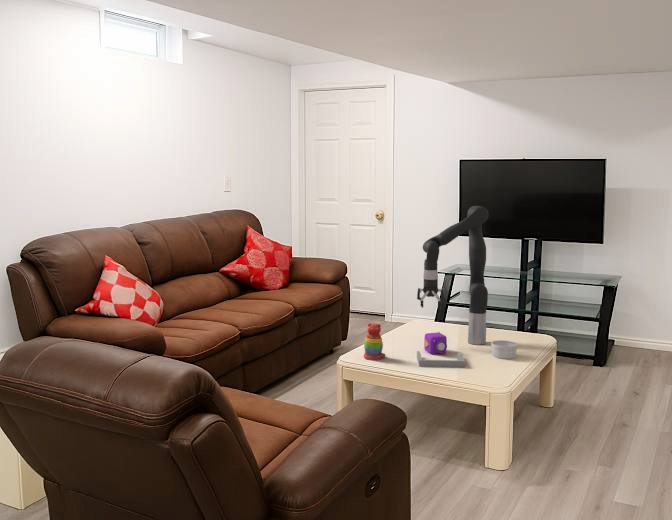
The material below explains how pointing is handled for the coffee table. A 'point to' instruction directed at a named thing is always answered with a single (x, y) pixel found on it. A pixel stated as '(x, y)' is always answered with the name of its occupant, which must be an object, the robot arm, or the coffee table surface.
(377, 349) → the stacking bear
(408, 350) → the coffee table surface
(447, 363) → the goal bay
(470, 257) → the robot arm
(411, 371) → the coffee table surface
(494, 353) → the ramekin
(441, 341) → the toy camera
